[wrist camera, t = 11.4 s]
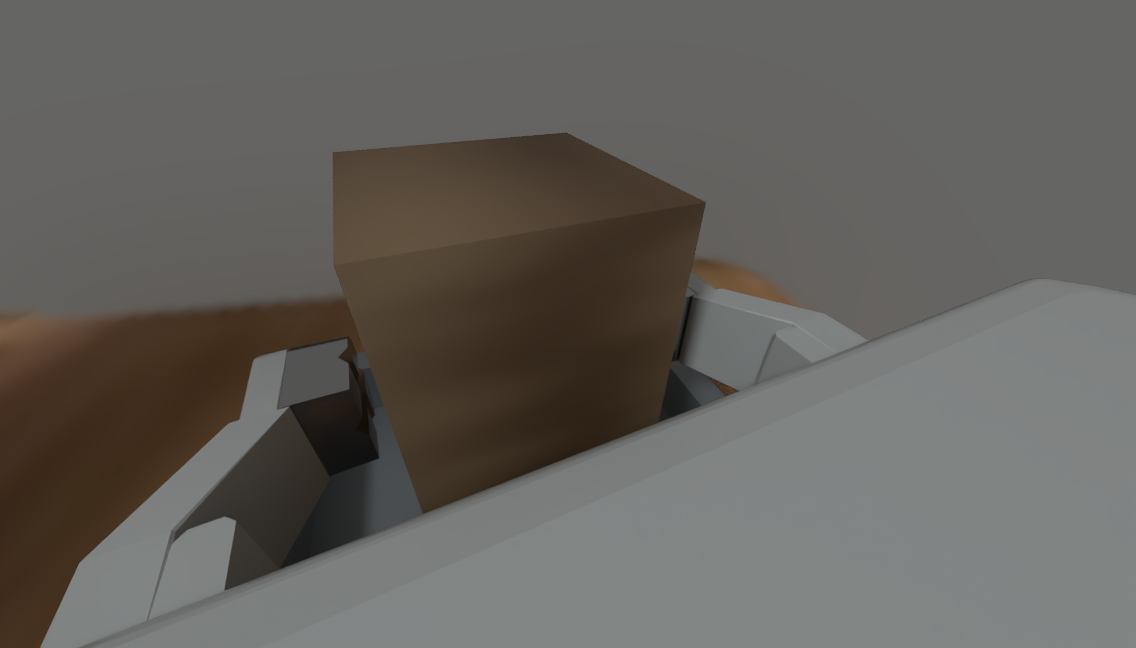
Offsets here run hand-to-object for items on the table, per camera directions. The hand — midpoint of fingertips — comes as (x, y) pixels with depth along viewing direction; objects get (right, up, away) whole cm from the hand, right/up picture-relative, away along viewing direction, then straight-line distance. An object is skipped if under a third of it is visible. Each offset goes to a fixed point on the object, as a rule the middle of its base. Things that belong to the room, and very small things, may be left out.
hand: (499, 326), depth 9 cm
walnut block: (0, -6, +3) cm, 7 cm away
